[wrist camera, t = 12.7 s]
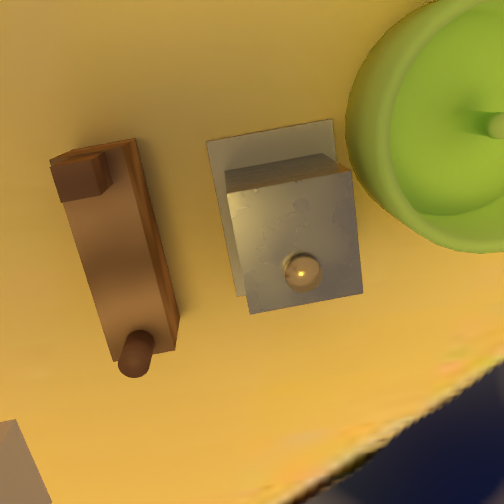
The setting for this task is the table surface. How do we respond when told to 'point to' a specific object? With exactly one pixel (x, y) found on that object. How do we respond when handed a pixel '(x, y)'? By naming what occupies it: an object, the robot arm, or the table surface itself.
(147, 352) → the plane body
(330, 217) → the lever cap
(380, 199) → the green round pieces
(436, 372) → the table surface
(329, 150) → the mat
